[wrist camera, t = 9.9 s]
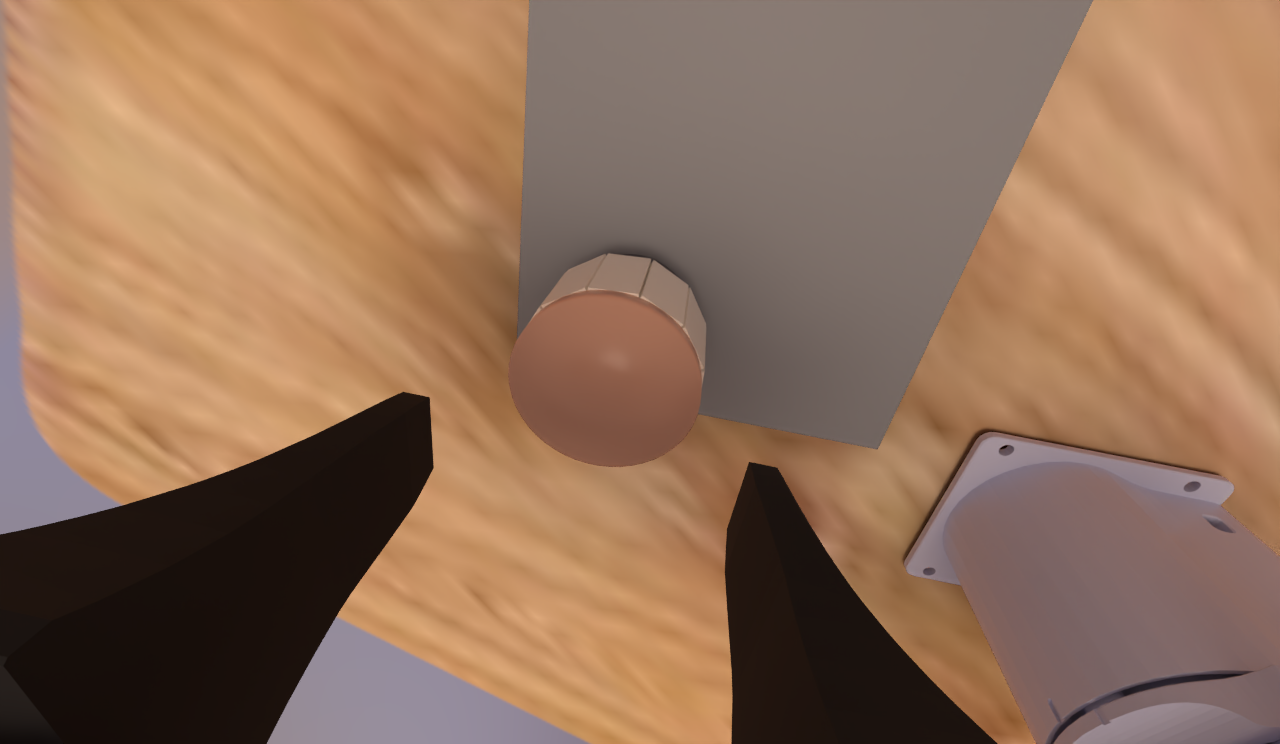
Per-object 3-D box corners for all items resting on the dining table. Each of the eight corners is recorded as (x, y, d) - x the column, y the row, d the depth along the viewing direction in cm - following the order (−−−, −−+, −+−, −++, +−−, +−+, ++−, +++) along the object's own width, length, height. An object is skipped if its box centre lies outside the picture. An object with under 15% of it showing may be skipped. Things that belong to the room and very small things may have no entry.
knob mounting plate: (1078, -37, 14) (1296, -103, 9) (867, 426, 21) (916, 540, 16) (551, -124, 14) (456, -235, 9) (527, 359, 22) (468, 450, 17)
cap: (728, 374, 17) (730, 438, 14) (589, 419, 19) (565, 485, 16) (664, 228, 15) (652, 266, 12) (515, 292, 17) (472, 340, 14)
